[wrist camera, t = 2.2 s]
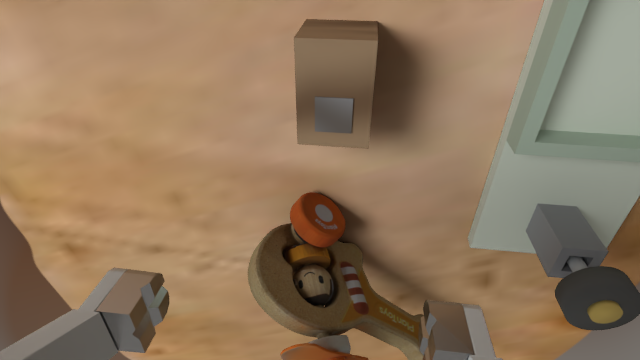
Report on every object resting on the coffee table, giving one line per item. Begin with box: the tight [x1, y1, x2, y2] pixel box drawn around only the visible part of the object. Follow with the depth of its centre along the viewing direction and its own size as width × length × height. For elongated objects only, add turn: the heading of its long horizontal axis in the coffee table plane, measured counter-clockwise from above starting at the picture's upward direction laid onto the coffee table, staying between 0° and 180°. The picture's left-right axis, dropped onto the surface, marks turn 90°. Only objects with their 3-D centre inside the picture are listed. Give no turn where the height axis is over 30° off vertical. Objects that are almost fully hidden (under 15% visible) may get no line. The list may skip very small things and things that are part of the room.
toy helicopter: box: [248, 192, 424, 360], centre depth 32 cm, size 8×21×14 cm, turn 55°
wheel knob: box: [555, 256, 640, 330], centre depth 26 cm, size 4×4×5 cm
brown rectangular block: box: [294, 19, 378, 149], centre depth 25 cm, size 7×5×5 cm
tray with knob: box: [468, 0, 640, 278], centre depth 24 cm, size 26×11×6 cm, turn 179°
